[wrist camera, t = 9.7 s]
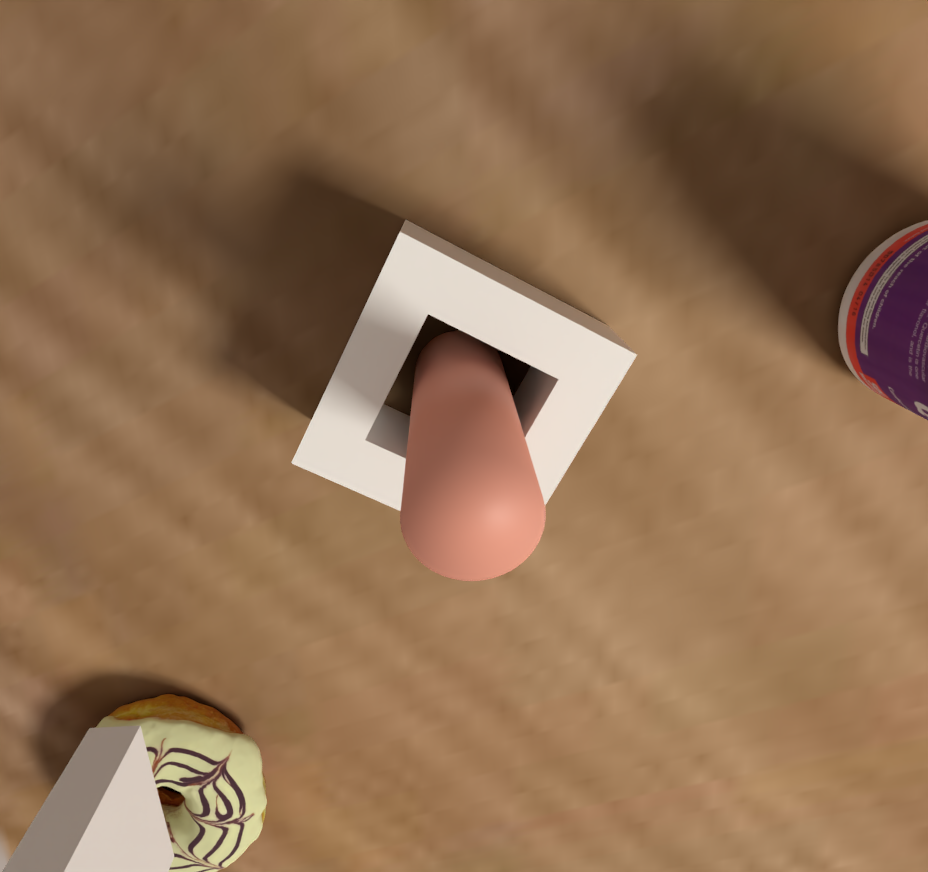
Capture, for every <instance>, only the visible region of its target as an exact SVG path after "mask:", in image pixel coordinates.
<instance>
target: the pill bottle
mask: <svg viewBox="0 0 928 872" xmlns="http://www.w3.org/2000/svg"><path fill="white" fill-rule="evenodd" d="M838 338H839V345H840V349H841V352H842V355H843V358H844V360H845V362H846V364H847V366H848V367H849V369H850V370H851V372H852V373H853V374H854V375H855V377H856V378H857V379H858V380H859V381H860V382H861V383H863V384H864V385H865V386H866V387H868V388H869V389H871V390H873V391H874V392H876V393H878V394H879V395H881V396H883V397H884V398H887V399H889V400H890V401H892V402H894V403H896V404H898V405H900V406H902V407H904V408H906V409H908V410H910V411H911V412H913V413H915V414H917V415H919V416H921V417H923V418H925V419H927V420H928V220H927V221H923V222H920V223H917V224H914V225H912V226H910V227H907V228H905V229H903V230H901V231H899V232H898V233H896V234H894V235H893V236H891V237H890V238H888V239H887V240H885V241H884V242H883V243H882V244H880V245H879V246H878V247H877V248H876V249H874V250H873V251H872V252H871V253H870V254H869V255H868V256H867V257H866V258H865V260H864V261H863V262H862V263H861V265H860V266H859V267H858V269H857V270H856V272H855V273H854V275H853V276H852V278H851V280H850V282H849V284H848V286H847V288H846V290H845V293H844V295H843V298H842V302H841V306H840V310H839V318H838Z"/></svg>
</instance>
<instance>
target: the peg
mask: <svg viewBox="0 0 928 872" xmlns="http://www.w3.org/2000/svg"><path fill="white" fill-rule="evenodd" d="M545 516H546V513H545V504H544V500H543V496H542V493H541V489H540V486H539V483H538V479H537V476H536V473H535V469H534V466H533V463H532V460H531V456H530V453H529V450H528V446H527V443H526V440H525V437H524V433H523V430H522V427H521V423H520V420H519V417H518V413H517V410H516V407H515V404H514V400H513V397H512V394H511V390H510V387H509V384H508V380H507V377H506V374H505V371H504V367H503V364H502V361H501V358H500V356H499V354H498V352H497V350H496V349H495V347H493V346H491V345H489V344H487V343H485V342H483V341H481V340H479V339H477V338H475V337H473V336H471V335H469V334H467V333H465V332H463V331H450V332H446V333H443V334H441V335H439V336H437V337H435V338H434V339H432V340H431V341H430V342H429V343H428V344H427V345H426V346H425V347H424V348H423V350H422V351H421V353H420V355H419V357H418V359H417V363H416V368H415V377H414V386H413V396H412V406H411V415H410V425H409V435H408V444H407V454H406V463H405V473H404V483H403V492H402V502H401V512H400V523H401V529H402V533H403V536H404V539H405V541H406V544H407V546H408V547H409V549H410V550H411V552H412V553H413V555H414V556H415V557H416V558H417V559H418V560H419V561H420V562H421V563H422V564H423V565H425V566H426V567H428V568H429V569H431V570H432V571H434V572H436V573H438V574H440V575H443V576H445V577H448V578H452V579H456V580H464V581H479V580H486V579H491V578H495V577H497V576H500V575H503V574H505V573H507V572H509V571H511V570H513V569H514V568H516V567H517V566H519V565H520V564H521V563H522V562H523V561H525V560H526V559H527V558H528V557H529V555H530V554H531V553H532V552H533V550H534V549H535V548H536V546H537V544H538V542H539V541H540V539H541V536H542V533H543V530H544V525H545Z"/></svg>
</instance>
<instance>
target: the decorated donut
mask: <svg viewBox="0 0 928 872" xmlns="http://www.w3.org/2000/svg"><path fill="white" fill-rule="evenodd" d="M120 726H141V730H142V733H143V737H144V741H145V745H146V749H147V753H148V757H149V760H150V764H151V768H152V772H153V776H154V780H155V783H156V787H157V791H158V795H159V799H160V803H161V807H162V810H163V814H164V818H165V822H166V826H167V830H168V834H169V837H170V841H171V845H172V849H173V853H174V858H173V861H172V864H171V866H170V869H169V872H216V871H218V870H220V869H223V868H226V867H227V866H229V865H230V864H231V863H232V862H234V861H235V860H236V859H237V858H238V857H239V856H240V855H242V854H243V853H244V852H245V850H246V849H247V848H248V846H249V845H250V844H251V843H252V842H253V841H255V840H256V839H257V838H258V837H259V835H260V832H261V829H262V826H263V821H264V817H265V813H266V808H265V807H266V804H267V800H266V785H265V778H264V775H263V771H262V758H261V754H260V750H259V748H258V746H257V745H256V743H255V741H254V740H253V739H252V738H251V737H250V736H248V735H245V734H243V732H241V730H240V729H239V728H238V727H237V726H236V725H235V724H234V723H233V722H232V720H230V719H229V718H227V717H225V716H224V715H223V714H222V713H220V712H219V711H218V710H216V709H215V708H213V707H210V706H207V705H204V704H200V703H198V702H196V701H194V700H192V699H190V698H188V697H185V696H180V697H179V696H176V695H173V694H164V695H160V696H158V697H156V698H150V699H144V700H139V701H136V702H133V703H131V704H126V705H123V706H120V707H119V708H117V709H116V710H115V711H114V712H113V713H111V714H110V715H108V716H107V717H105V718H103V719H102V720H101V721H100V723H99V724H98V725H97V726H96V727H95V728H100V727H120ZM161 786H167V787H170V788H172V789H174V790H176V791H179V792H181V793H182V794H177V793H175V792H172V791H168V790H166V789H164V788H162V787H161Z"/></svg>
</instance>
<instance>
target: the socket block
mask: <svg viewBox="0 0 928 872" xmlns="http://www.w3.org/2000/svg"><path fill="white" fill-rule="evenodd" d="M428 314H429V315H431V316H433V317H435V318H437V319H439V320H441V321H443V322H445V323H447V324H449V325H451V326H453V327H455V328H457V329H459V330H461V331H463V332H465V333H467V334H469V335H471V336H473V337H475V338H477V339H479V340H481V341H483V342H485V343H487V344H489V345H491V346H493V347H495V348H497V349H499V350H501V351H503V352H505V353H507V354H509V355H511V356H513V357H515V358H517V359H519V360H521V361H523V362H525V363H527V364H529V365H531V367H530V368H529V370H528V372H527V374H526V376H525V377H524V379H523V381H522V383H521V384H520V386H519V388H518V390H517V392H516V393H515V395H514V397H513V400H514V404H515V407H516V410H517V413H518V417H519V420H520V423H521V427H522V430H523V433H524V437H525V440H526V443H527V446H528V450H529V453H530V456H531V460H532V463H533V466H534V469H535V473H536V476H537V479H538V483H539V486H540V489H541V493H542V496H543V500H544V504H545V505H546V503H547V501H548V500H549V498H550V497H551V495H552V493H553V492H554V490H555V488H556V487H557V485H558V483H559V482H560V480H561V479H562V477H563V475H564V474H565V472H566V470H567V469H568V467H569V465H570V464H571V462H572V461H573V459H574V457H575V456H576V454H577V452H578V451H579V449H580V448H581V446H582V444H583V443H584V441H585V439H586V438H587V436H588V434H589V433H590V431H591V430H592V428H593V426H594V425H595V423H596V421H597V420H598V418H599V416H600V415H601V413H602V412H603V410H604V408H605V407H606V405H607V403H608V402H609V400H610V398H611V397H612V395H613V394H614V392H615V390H616V389H617V387H618V385H619V384H620V382H621V380H622V379H623V377H624V376H625V374H626V372H627V371H628V369H629V367H630V366H631V364H632V362H633V361H634V359H635V358H636V356H637V354H636V353H635V352H634V351H633V350H632V349H631V348H630V347H629V346H628V345H627V344H626V343H625V342H624V341H623V340H622V339H621V338H620V337H619V336H618V335H617V334H616V333H615V332H614V331H613V330H612V329H611V328H610V327H609V326H608V325H606V324H604V323H602V322H600V321H598V320H597V319H595V318H593V317H591V316H589V315H587V314H585V313H583V312H581V311H579V310H577V309H576V308H574V307H572V306H570V305H568V304H566V303H564V302H562V301H560V300H558V299H556V298H555V297H553V296H551V295H549V294H547V293H545V292H543V291H541V290H539V289H537V288H535V287H534V286H532V285H530V284H528V283H526V282H524V281H522V280H520V279H518V278H516V277H515V276H513V275H511V274H509V273H507V272H505V271H503V270H501V269H499V268H497V267H495V266H494V265H492V264H490V263H488V262H486V261H484V260H482V259H480V258H478V257H476V256H474V255H473V254H471V253H469V252H467V251H465V250H463V249H461V248H459V247H457V246H455V245H453V244H452V243H450V242H448V241H446V240H444V239H442V238H440V237H438V236H436V235H434V234H433V233H431V232H429V231H427V230H425V229H423V228H421V227H419V226H417V225H415V224H413V223H412V222H410V221H408V220H405V222H404V224H403V226H402V228H401V230H400V232H399V234H398V237H397V239H396V241H395V243H394V245H393V247H392V249H391V252H390V254H389V256H388V258H387V260H386V262H385V264H384V266H383V269H382V271H381V273H380V275H379V277H378V279H377V281H376V284H375V286H374V288H373V290H372V292H371V294H370V296H369V298H368V301H367V303H366V305H365V307H364V309H363V311H362V313H361V316H360V318H359V320H358V322H357V324H356V326H355V328H354V330H353V333H352V335H351V337H350V339H349V341H348V343H347V345H346V348H345V350H344V352H343V354H342V356H341V358H340V360H339V362H338V365H337V367H336V369H335V371H334V373H333V375H332V377H331V380H330V382H329V384H328V386H327V388H326V390H325V392H324V394H323V397H322V399H321V401H320V403H319V405H318V407H317V409H316V412H315V414H314V416H313V418H312V420H311V422H310V424H309V426H308V429H307V431H306V433H305V435H304V437H303V439H302V441H301V444H300V446H299V448H298V450H297V452H296V454H295V456H294V458H293V461H292V464H294V465H297V466H299V467H301V468H303V469H306V470H308V471H310V472H313V473H315V474H317V475H319V476H322V477H324V478H326V479H329V480H331V481H333V482H335V483H338V484H340V485H342V486H344V487H347V488H349V489H351V490H354V491H356V492H358V493H360V494H363V495H365V496H367V497H370V498H372V499H374V500H376V501H379V502H381V503H383V504H386V505H388V506H390V507H392V508H395V509H397V510H399V511H401V502H402V492H403V483H404V473H405V463H406V454H407V444H408V435H409V425H410V416H408V415H406V414H404V413H402V412H400V411H398V410H396V409H393V408H391V407H389V406H387V405H385V404H383V403H384V401H385V399H386V397H387V395H388V393H389V391H390V389H391V387H392V385H393V383H394V381H395V379H396V377H397V375H398V373H399V371H400V369H401V367H402V365H403V363H404V361H405V359H406V357H407V355H408V353H409V351H410V349H411V347H412V345H413V343H414V341H415V339H416V337H417V335H418V333H419V331H420V329H421V327H422V325H423V323H424V321H425V319H426V317H427V315H428Z"/></svg>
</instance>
